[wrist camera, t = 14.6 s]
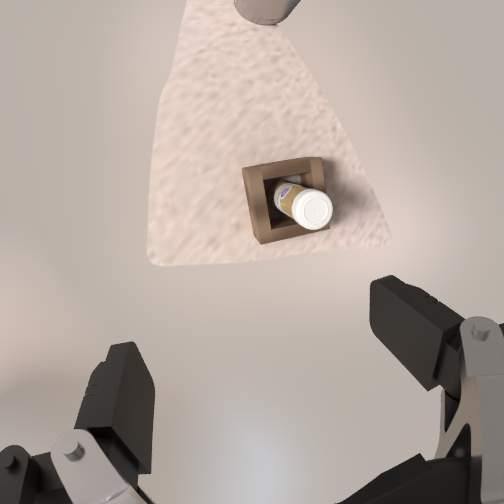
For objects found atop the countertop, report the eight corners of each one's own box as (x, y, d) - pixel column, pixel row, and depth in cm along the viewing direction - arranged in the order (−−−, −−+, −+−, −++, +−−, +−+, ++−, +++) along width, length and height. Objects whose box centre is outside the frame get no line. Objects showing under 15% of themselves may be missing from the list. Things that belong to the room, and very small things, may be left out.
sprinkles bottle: (274, 175, 44) (307, 183, 31) (300, 187, 45) (340, 200, 33) (262, 203, 45) (290, 221, 32) (288, 214, 46) (324, 236, 34)
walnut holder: (241, 168, 43) (247, 169, 38) (308, 156, 44) (321, 157, 39) (254, 235, 46) (261, 244, 42) (316, 221, 48) (329, 228, 43)
